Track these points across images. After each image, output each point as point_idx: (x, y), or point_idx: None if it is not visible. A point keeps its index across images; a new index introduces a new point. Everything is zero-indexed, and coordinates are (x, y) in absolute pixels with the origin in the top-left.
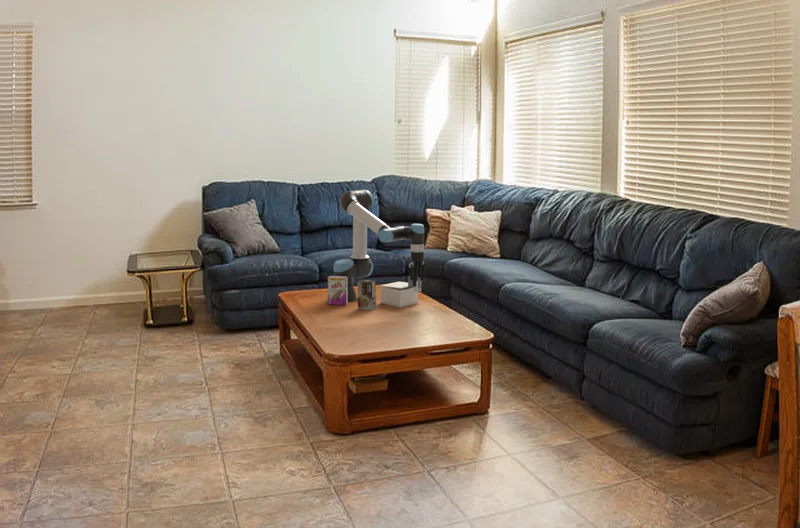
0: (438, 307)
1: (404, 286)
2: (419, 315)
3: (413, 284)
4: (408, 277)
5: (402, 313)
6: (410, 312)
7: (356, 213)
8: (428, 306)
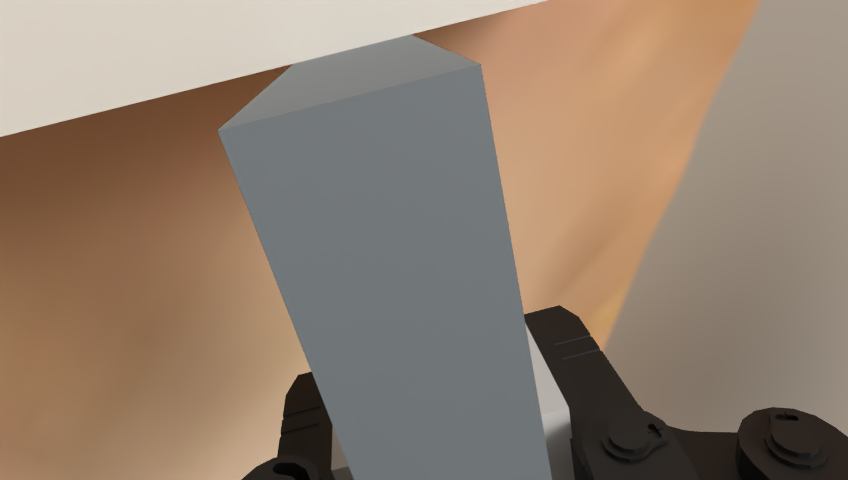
0: (586, 305)
1: (148, 32)
2: (208, 476)
3: (289, 437)
4: (253, 185)
5: (49, 348)
6: (169, 350)
7: None
8: (531, 213)
